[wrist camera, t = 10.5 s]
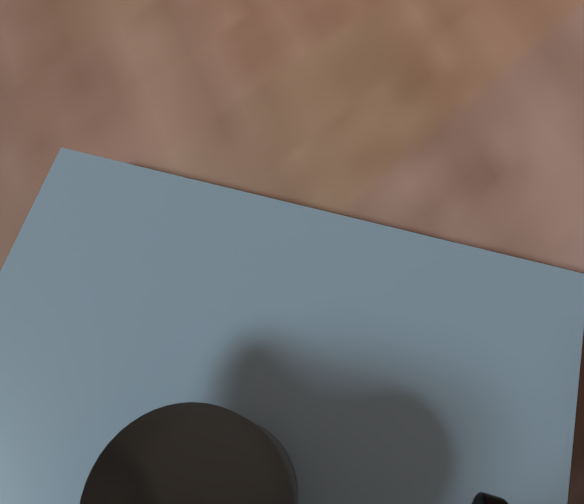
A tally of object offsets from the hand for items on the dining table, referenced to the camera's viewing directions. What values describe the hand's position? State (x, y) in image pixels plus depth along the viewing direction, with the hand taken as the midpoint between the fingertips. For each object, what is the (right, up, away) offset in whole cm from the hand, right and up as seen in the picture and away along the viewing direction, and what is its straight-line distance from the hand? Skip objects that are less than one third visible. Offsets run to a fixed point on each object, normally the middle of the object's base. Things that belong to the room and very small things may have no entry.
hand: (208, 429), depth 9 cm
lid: (0, -3, +6) cm, 7 cm away
